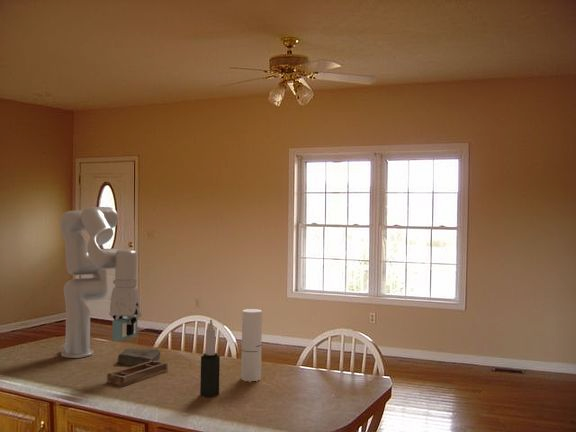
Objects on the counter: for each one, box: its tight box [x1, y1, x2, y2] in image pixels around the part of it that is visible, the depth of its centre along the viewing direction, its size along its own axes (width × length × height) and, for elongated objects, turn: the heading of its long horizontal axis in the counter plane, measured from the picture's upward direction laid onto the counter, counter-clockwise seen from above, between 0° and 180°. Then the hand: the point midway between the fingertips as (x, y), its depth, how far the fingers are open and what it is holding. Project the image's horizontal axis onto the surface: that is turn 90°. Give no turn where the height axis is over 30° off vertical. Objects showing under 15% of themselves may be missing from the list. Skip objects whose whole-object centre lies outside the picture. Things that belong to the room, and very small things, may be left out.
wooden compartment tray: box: [106, 360, 169, 387], centre depth 207 cm, size 8×22×3 cm, turn 151°
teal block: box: [111, 316, 138, 342], centre depth 206 cm, size 4×10×7 cm, turn 159°
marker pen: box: [199, 319, 221, 398], centre depth 188 cm, size 5×5×25 cm
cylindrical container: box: [240, 308, 263, 383], centre depth 206 cm, size 7×7×25 cm
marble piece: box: [117, 347, 161, 367], centre depth 227 cm, size 17×15×4 cm
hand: (125, 333), depth 206 cm, fingers closed on teal block, 3 cm apart
